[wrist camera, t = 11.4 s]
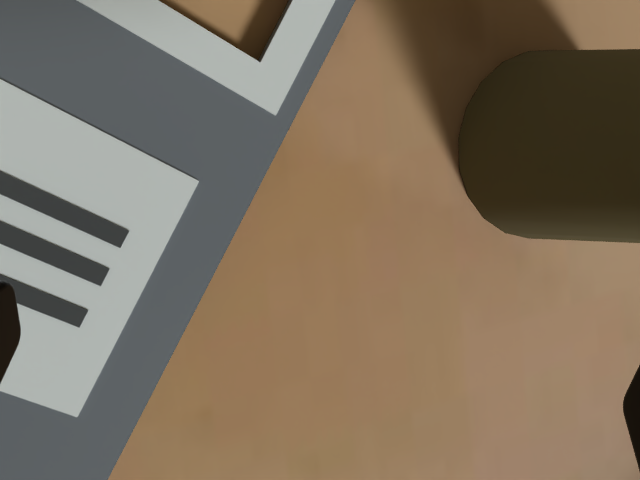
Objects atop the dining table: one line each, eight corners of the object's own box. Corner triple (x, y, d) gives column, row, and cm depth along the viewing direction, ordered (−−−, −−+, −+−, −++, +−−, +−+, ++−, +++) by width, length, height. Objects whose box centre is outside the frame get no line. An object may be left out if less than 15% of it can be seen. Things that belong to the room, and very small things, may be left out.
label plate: (91, 502, 17) (89, 518, 16) (-445, 344, 13) (-479, 356, 12) (465, -225, 17) (481, -240, 16) (40, -612, 13) (35, -656, 12)
